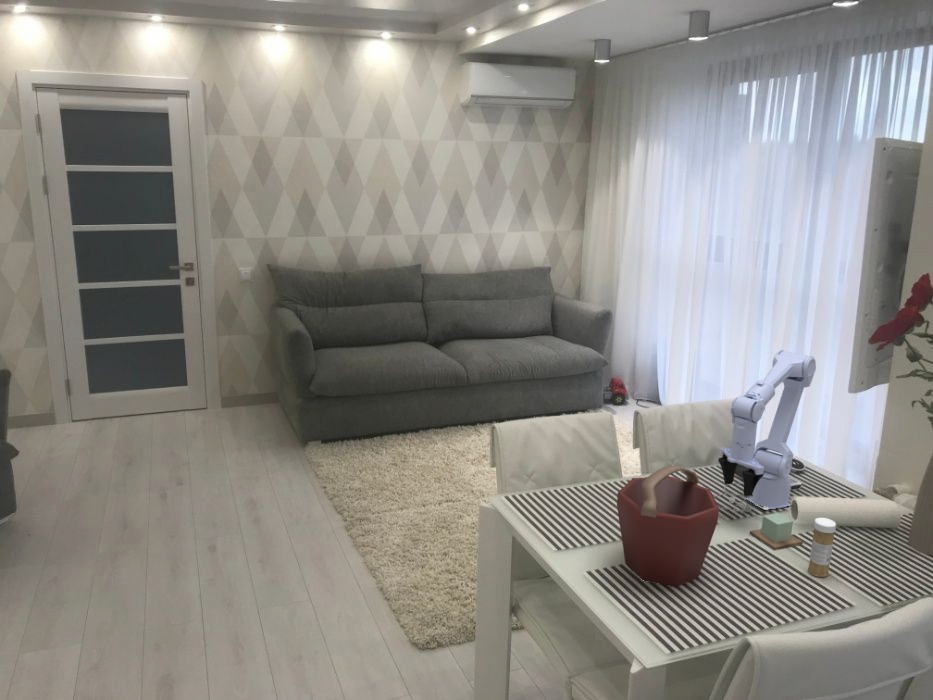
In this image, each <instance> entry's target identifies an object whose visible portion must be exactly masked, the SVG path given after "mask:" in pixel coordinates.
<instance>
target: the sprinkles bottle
mask: <svg viewBox="0 0 933 700" xmlns="http://www.w3.org/2000/svg"><path fill="white" fill-rule="evenodd" d="M813 523H814V524H813V535H812V536H813V537H812V542H811V547H810V553H809V554H810V555H809V563H808V568H807V571H808V572H809V574H811V576H814V577H816V578H817V577H818V578H827V577H828V576H829V574H830V572H829V571H830V564H831V559H832V553H833V547H834V538H835V537H834V536H835V532H836V528H837V523H836V522H835V521H834V520H832V519H829V518H828V517H816V518H815V520H814V522H813Z"/></svg>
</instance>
